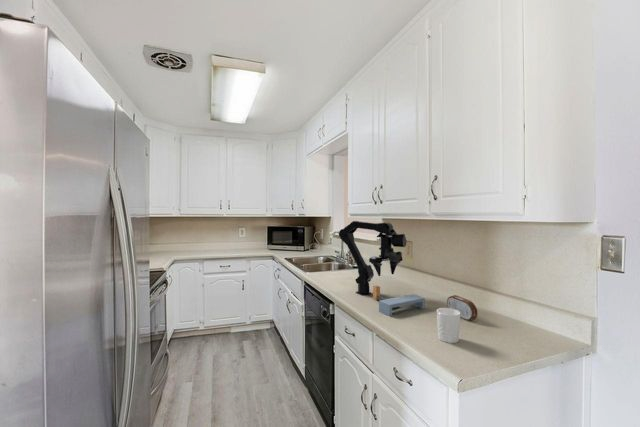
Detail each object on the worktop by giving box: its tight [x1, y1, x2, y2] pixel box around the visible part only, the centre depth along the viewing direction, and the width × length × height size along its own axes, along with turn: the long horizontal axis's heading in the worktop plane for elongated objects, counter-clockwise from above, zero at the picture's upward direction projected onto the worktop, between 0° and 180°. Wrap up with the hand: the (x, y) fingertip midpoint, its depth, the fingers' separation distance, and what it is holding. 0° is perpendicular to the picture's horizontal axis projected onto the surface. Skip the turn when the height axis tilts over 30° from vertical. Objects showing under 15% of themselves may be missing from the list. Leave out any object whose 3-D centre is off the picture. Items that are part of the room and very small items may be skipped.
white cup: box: [436, 307, 461, 344], centre depth 104 cm, size 8×8×10 cm
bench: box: [378, 293, 426, 317], centre depth 136 cm, size 7×22×5 cm, turn 119°
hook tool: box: [372, 285, 398, 310], centre depth 145 cm, size 16×7×7 cm, turn 33°
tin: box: [446, 295, 478, 321], centre depth 126 cm, size 15×3×8 cm, turn 18°
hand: (386, 275), depth 155 cm, fingers open, 9 cm apart
